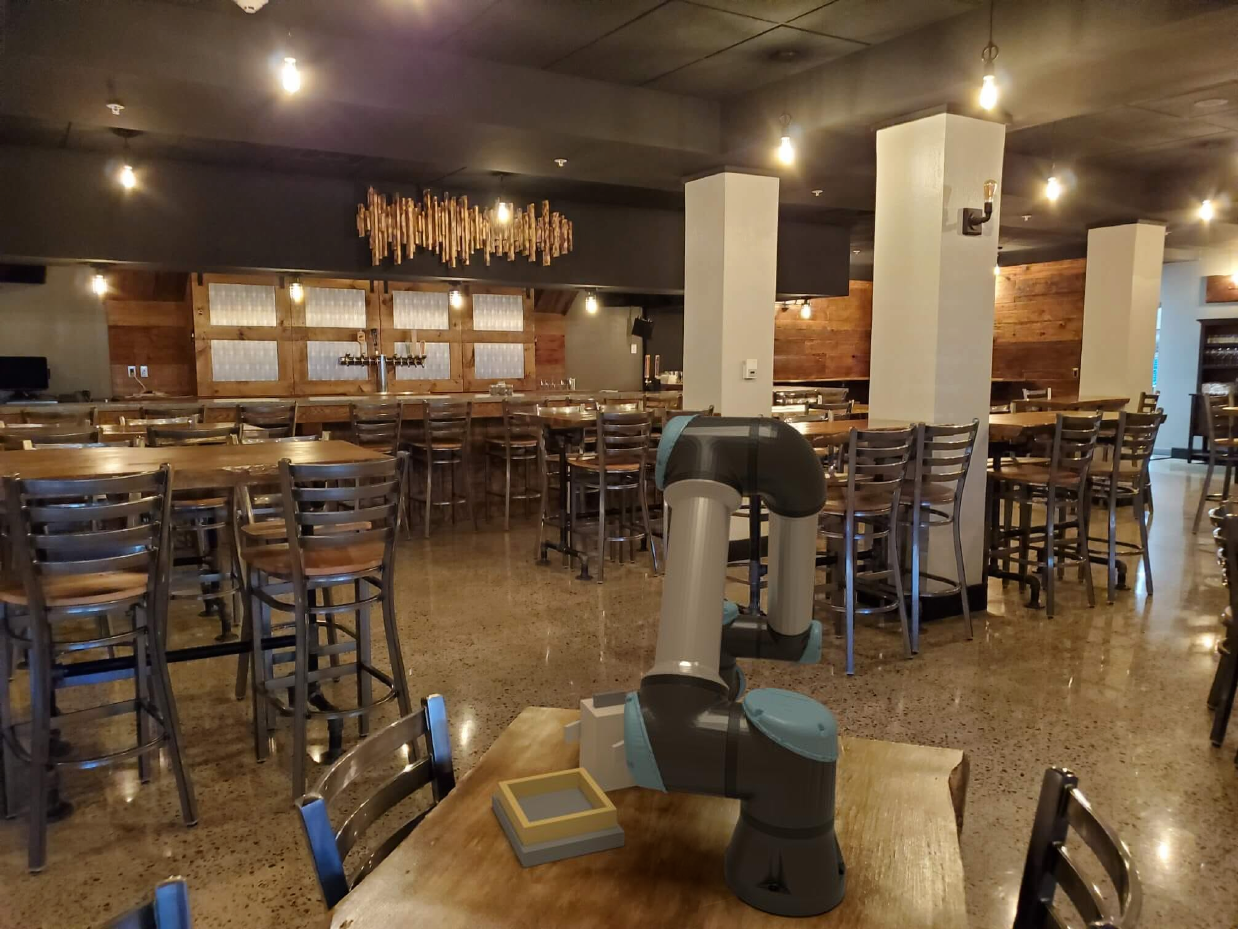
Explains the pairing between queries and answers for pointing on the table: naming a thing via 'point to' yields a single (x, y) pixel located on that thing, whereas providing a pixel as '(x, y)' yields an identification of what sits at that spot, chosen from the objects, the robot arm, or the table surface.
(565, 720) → the table surface
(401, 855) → the table surface
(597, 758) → the beige rectangular block
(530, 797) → the tray
